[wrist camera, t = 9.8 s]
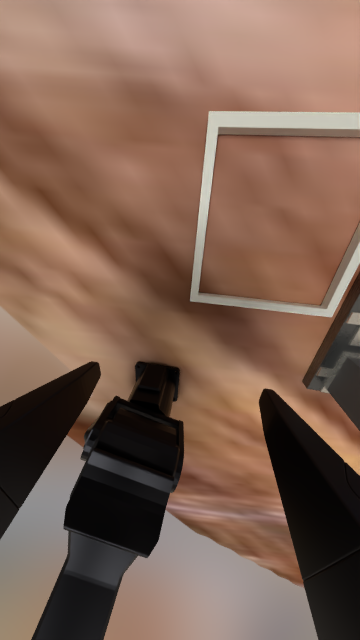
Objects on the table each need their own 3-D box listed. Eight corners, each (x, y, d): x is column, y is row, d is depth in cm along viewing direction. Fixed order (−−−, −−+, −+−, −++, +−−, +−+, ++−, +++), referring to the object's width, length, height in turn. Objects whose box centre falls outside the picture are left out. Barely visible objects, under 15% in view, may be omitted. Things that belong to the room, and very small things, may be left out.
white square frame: (325, 313, 18) (331, 317, 17) (190, 298, 20) (189, 301, 19) (419, 122, 12) (436, 113, 11) (209, 119, 13) (209, 111, 12)
